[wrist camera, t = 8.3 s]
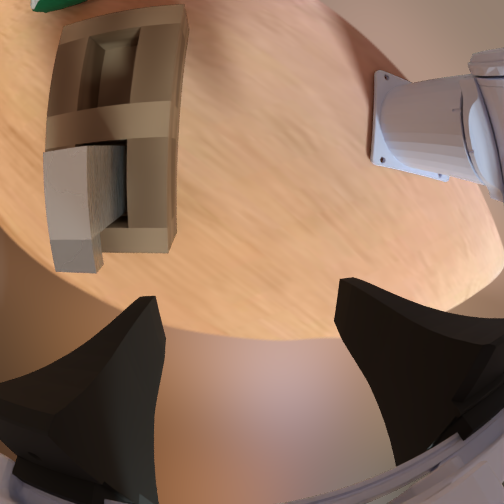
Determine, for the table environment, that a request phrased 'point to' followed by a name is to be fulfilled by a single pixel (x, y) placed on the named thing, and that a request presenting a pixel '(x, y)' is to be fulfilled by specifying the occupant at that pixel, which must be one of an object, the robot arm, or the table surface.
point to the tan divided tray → (126, 111)
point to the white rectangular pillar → (83, 202)
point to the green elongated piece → (52, 4)
